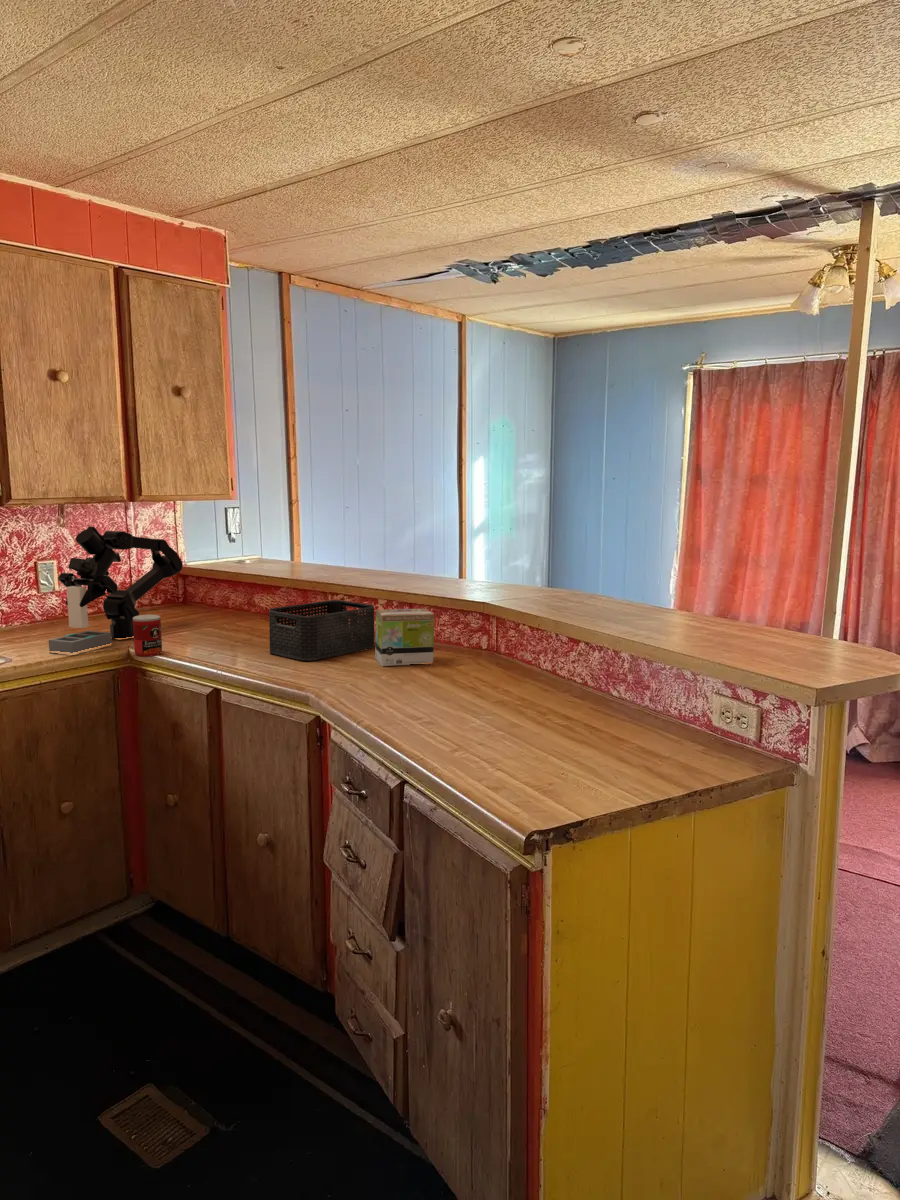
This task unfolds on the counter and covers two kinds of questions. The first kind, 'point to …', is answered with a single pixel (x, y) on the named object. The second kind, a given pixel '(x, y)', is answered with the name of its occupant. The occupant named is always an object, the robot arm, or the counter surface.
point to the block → (76, 607)
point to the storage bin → (321, 630)
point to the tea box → (404, 636)
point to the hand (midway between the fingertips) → (73, 605)
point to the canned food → (147, 635)
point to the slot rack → (80, 641)
